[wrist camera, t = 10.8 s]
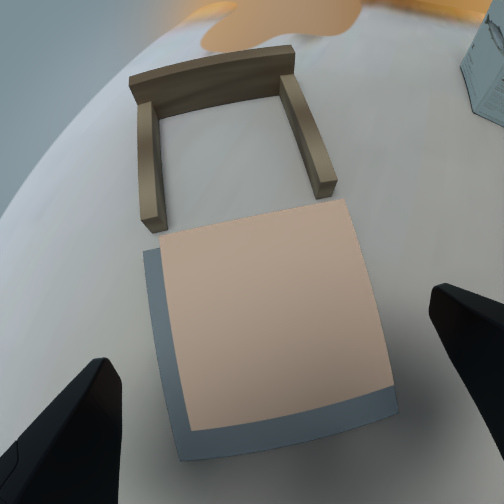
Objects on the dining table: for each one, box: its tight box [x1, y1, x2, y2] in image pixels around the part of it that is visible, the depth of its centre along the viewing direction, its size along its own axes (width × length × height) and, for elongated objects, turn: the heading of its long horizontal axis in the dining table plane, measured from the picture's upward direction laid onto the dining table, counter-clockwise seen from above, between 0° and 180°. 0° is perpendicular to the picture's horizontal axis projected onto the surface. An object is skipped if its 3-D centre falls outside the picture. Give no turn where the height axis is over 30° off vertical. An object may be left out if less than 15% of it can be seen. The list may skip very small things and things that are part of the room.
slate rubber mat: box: [143, 248, 399, 461], centre depth 17 cm, size 12×12×1 cm
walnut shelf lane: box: [129, 45, 338, 233], centre depth 19 cm, size 10×11×4 cm
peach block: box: [159, 199, 394, 431], centre depth 12 cm, size 4×4×10 cm
